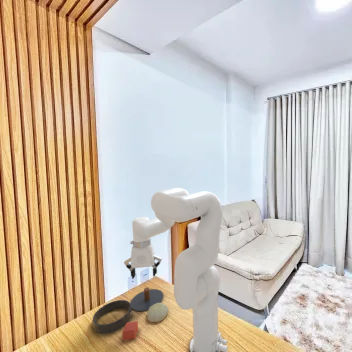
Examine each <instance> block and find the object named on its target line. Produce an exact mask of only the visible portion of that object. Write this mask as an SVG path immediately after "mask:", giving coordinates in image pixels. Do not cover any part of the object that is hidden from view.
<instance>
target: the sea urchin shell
mask: <svg viewBox="0 0 352 352" xmlns="http://www.w3.org/2000/svg"><path fill="white" fill-rule="evenodd" d="M146 312H147V313H146V318H147V320H148V321H149V322H150V323H159V322H162V321H163V320H164V319H165V318H166V317H167V316H168V314H169V307H168V306H167V305H166V304H165V303H163V302H161V303H156V304H154V305H152V306H151V307H150V308H149V310H148V311H146Z"/></svg>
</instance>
